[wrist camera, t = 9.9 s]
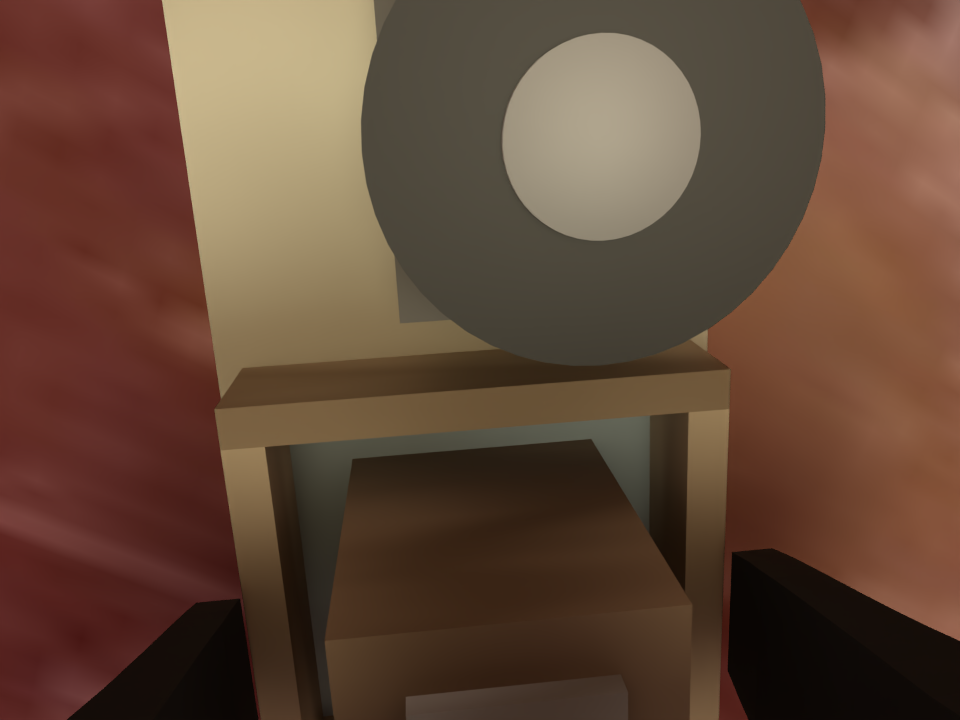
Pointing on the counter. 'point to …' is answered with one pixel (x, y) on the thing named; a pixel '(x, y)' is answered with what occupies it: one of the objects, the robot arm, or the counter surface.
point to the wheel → (591, 163)
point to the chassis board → (383, 345)
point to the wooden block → (502, 592)
